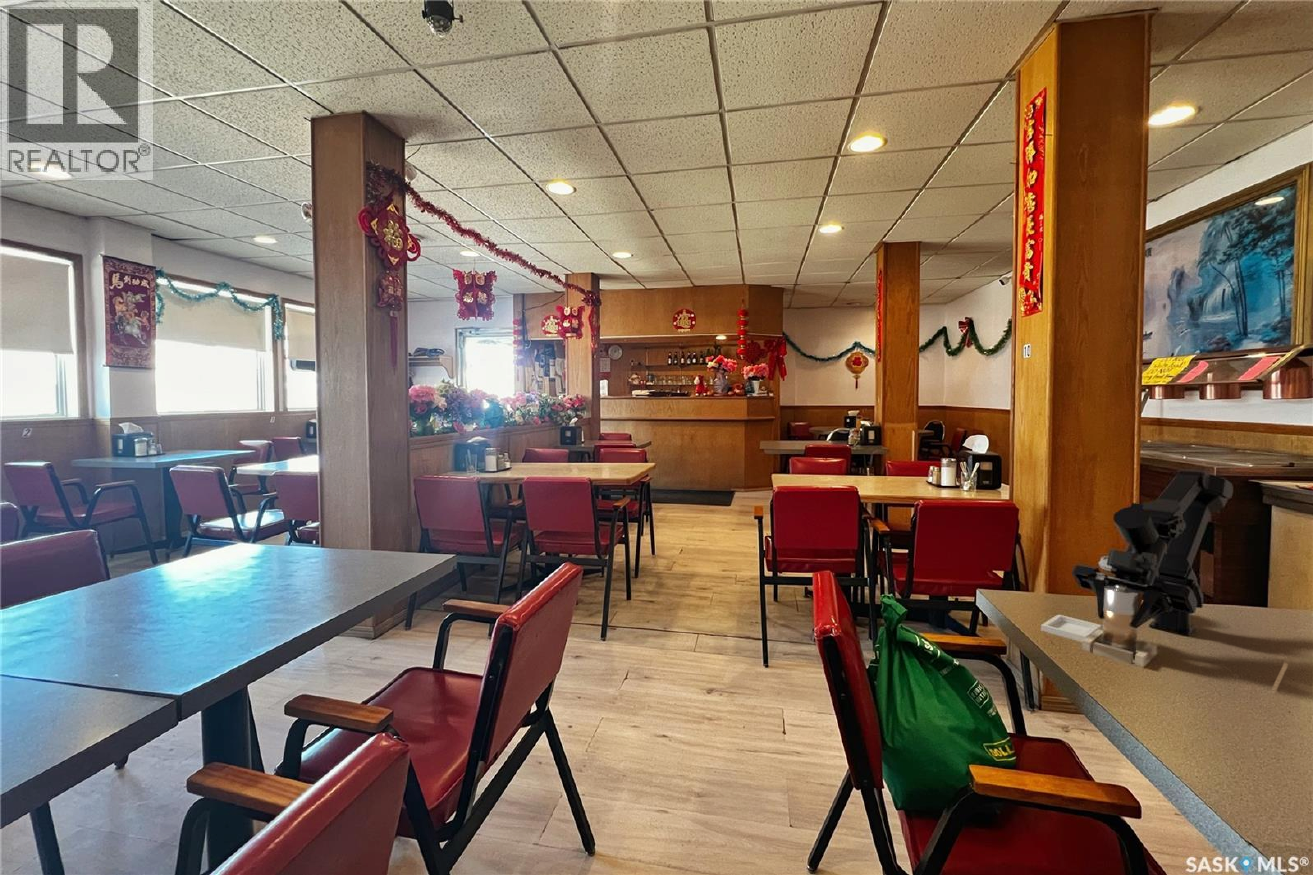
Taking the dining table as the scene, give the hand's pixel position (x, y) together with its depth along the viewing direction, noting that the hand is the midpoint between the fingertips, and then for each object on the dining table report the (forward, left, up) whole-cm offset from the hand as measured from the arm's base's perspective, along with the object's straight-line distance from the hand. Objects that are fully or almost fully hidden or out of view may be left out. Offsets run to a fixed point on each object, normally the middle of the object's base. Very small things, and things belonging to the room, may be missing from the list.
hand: (1116, 622), depth 108 cm
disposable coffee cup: (-32, -7, -7) cm, 34 cm away
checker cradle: (-1, 0, -7) cm, 7 cm away
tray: (-6, -9, -7) cm, 13 cm away
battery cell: (-1, 0, -6) cm, 7 cm away
